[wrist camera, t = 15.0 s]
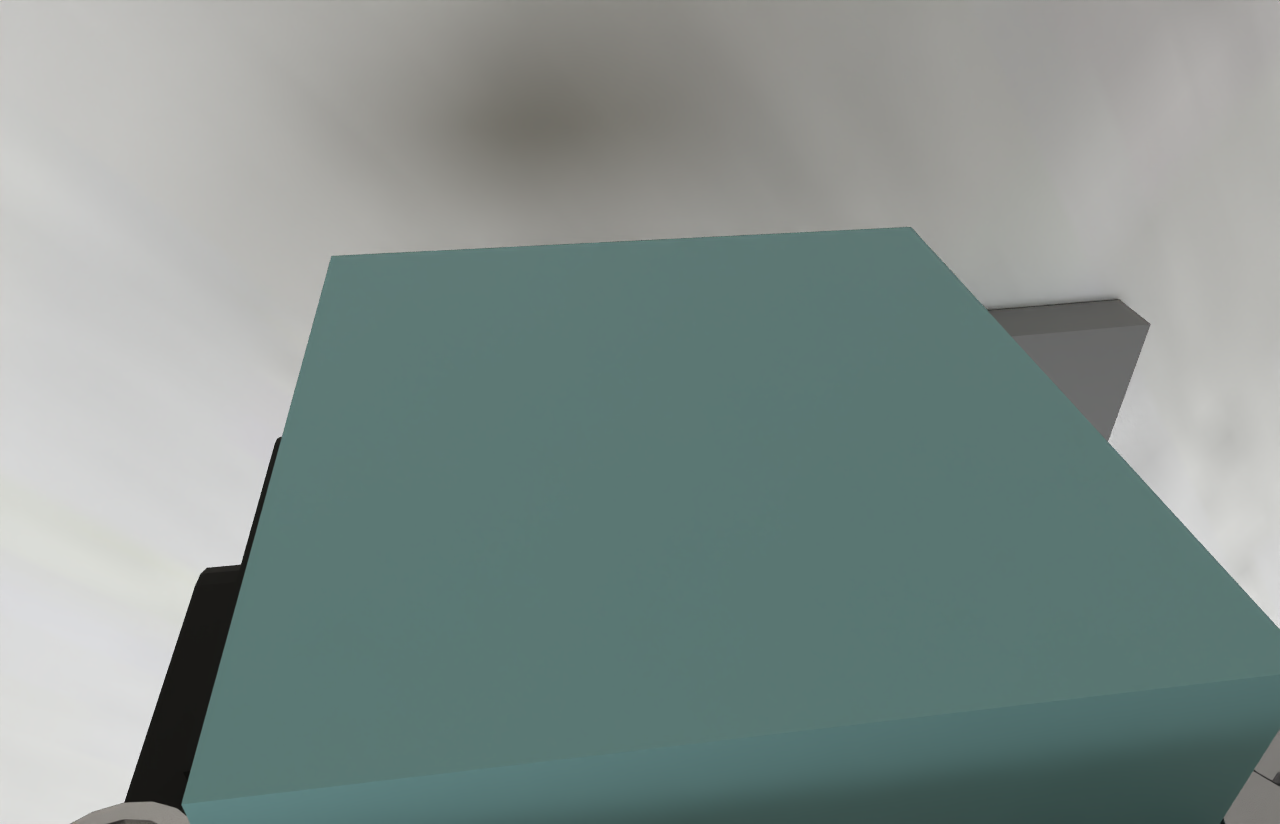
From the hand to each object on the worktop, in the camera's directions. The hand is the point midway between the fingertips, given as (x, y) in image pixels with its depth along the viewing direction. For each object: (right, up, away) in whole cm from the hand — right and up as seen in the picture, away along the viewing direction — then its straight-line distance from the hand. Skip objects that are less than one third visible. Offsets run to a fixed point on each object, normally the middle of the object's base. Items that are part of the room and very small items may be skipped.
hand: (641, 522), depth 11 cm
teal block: (0, +1, +1) cm, 1 cm away
